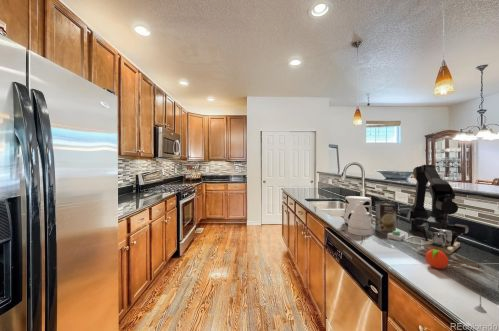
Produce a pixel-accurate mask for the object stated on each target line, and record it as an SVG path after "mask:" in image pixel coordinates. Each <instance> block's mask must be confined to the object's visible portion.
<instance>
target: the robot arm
mask: <svg viewBox="0 0 499 331" xmlns="http://www.w3.org/2000/svg"><path fill="white" fill-rule="evenodd" d="M412 175H413V177H414V178H415V180H416V186H415V193H414V202H413V204H412V205H411V206H410V208H409V211H408V213H407V215H406V218H407V219H406V220H407V221H409V222H410V228H408V231H413V232H422V234H423V236H424V237H423V238H425V239H426V240H425V241H426V242H428V241H429V240H428V239H429V228H430V229H431V228H433V229H437V230H439V229H443V228H444V229H447V230H452V240H451V247H453V245H454V243H455V242H457V239H458V238H459V237H460V236H462V235H466V234H467V233H468V232H469V226H468V225H466V224H460V223H455V224H449V220H448V218H449V216H448V215H454V214H456V213H457V212H458V211H459V206H458V204H457V203H456V202H455V201H453V200H455V199H456V194H455V192H454V189H453V187H452V185H451V184H450V183H449V182H448V181H447V180H445V179H443V178H442V177H441V176H440V174H439V172H438V171H437V170H436V167H435V165H434V164H422V165H420V166H416V167H414V168H413V170H412ZM427 183H429V186H428V192H429V194H430V197H431V211H430V216H429V215H428V211H427V210H426V208H425V199H426V192H427V191H426V190H427Z"/></svg>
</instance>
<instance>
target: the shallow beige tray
mask: <svg viewBox="0 0 499 331" xmlns="http://www.w3.org/2000/svg"><path fill="white" fill-rule="evenodd" d="M430 240H431V241H429V240H428V241H429V242H428V241H426V242H427V243H426V242H424V243H425V244H424V243H423V244H424V246H423V248H424V249H428V250H432V249H437V250H440V251H442V252H443V253H445V254H446V255H447V254H448V255H450V254H452V253H453V252H455V251H456V250H457V249H458V248H460V247H461V242H458V241H455V243H454V245H453V247H451V245H450V244H446V249H444V248H440V247H435V246H433V239H430Z"/></svg>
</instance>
